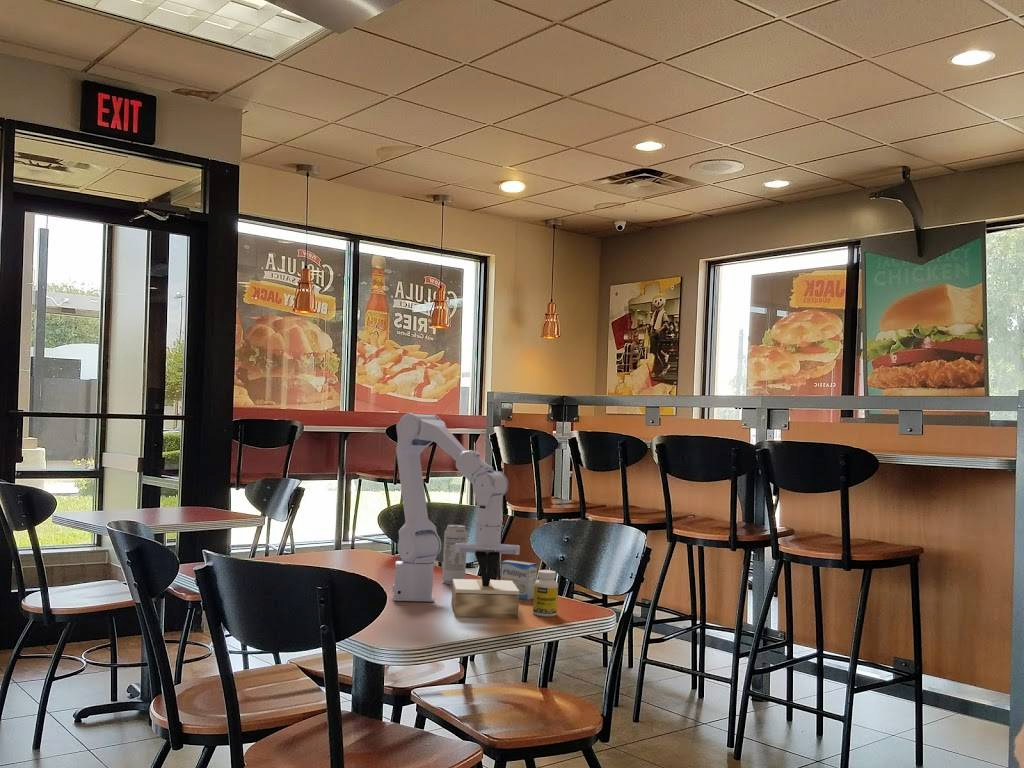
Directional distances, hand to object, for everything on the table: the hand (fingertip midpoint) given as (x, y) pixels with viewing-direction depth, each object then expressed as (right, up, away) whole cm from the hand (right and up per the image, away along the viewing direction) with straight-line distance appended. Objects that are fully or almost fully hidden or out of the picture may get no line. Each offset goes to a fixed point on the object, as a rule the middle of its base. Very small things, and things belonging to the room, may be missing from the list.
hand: (485, 585), depth 213 cm
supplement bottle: (+13, -7, +1) cm, 15 cm away
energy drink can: (-10, -7, +36) cm, 38 cm away
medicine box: (+7, -8, +20) cm, 23 cm away
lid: (0, -1, +2) cm, 2 cm away
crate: (0, -6, +1) cm, 6 cm away
